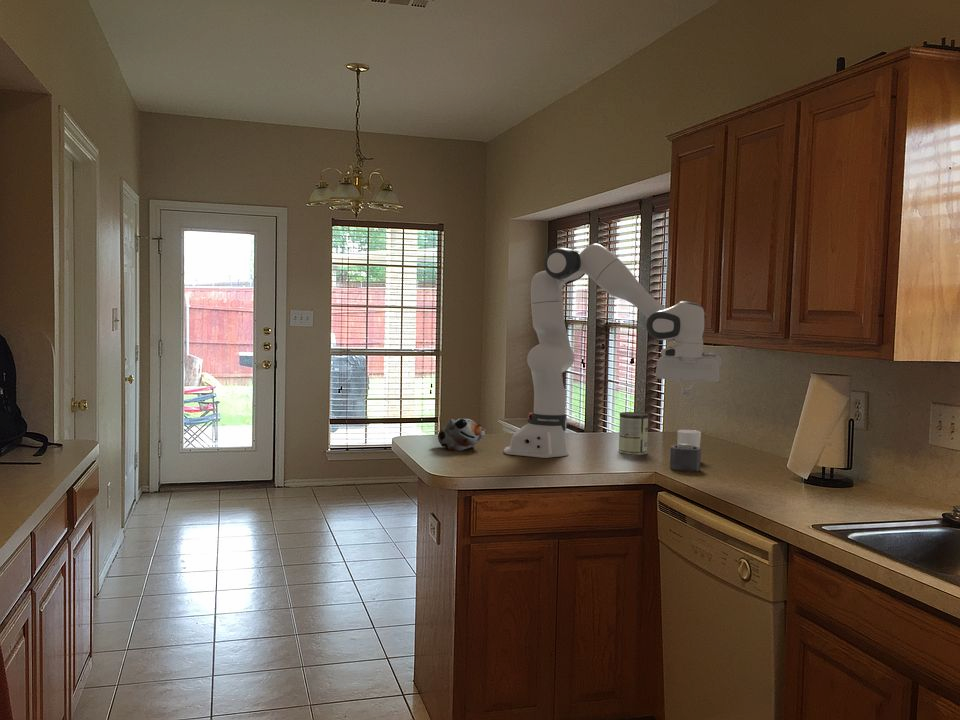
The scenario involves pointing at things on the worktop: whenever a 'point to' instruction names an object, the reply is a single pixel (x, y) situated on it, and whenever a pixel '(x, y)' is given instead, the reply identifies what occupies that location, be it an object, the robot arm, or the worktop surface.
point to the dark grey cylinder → (685, 458)
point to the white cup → (689, 437)
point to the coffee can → (633, 433)
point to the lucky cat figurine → (460, 434)
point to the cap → (684, 446)
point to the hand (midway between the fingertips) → (686, 394)
